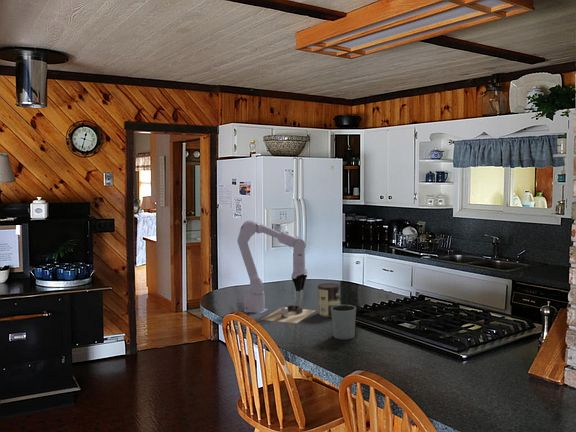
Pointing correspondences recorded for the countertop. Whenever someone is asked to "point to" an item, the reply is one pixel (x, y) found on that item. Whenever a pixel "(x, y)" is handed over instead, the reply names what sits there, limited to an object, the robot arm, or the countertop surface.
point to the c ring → (295, 308)
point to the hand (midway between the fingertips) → (299, 290)
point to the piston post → (284, 312)
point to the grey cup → (343, 321)
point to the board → (292, 316)
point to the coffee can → (328, 298)
